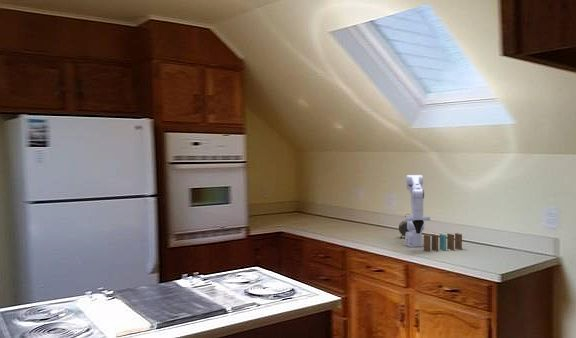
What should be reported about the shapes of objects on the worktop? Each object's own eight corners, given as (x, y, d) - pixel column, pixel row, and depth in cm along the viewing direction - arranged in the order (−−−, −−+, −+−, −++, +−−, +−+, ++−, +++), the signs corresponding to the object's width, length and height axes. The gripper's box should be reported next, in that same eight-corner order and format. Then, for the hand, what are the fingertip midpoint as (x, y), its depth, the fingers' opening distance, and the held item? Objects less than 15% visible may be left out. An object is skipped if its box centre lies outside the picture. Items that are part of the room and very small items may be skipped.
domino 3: (451, 250, 293) (451, 235, 293) (447, 248, 298) (447, 233, 297) (454, 250, 293) (454, 234, 293) (449, 248, 298) (449, 233, 298)
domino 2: (435, 251, 291) (435, 235, 291) (431, 249, 296) (431, 234, 295) (438, 251, 291) (438, 235, 291) (434, 249, 296) (434, 234, 296)
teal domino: (443, 250, 292) (443, 235, 292) (439, 249, 297) (439, 233, 296) (446, 250, 292) (446, 235, 292) (442, 248, 297) (442, 233, 297)
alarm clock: (414, 237, 335) (414, 213, 334) (416, 239, 329) (417, 214, 328) (398, 237, 335) (398, 213, 334) (400, 239, 329) (400, 214, 328)
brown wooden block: (427, 251, 290) (427, 236, 290) (423, 249, 295) (423, 234, 294) (430, 251, 290) (430, 236, 290) (426, 249, 295) (426, 234, 295)
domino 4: (459, 249, 294) (459, 234, 294) (454, 248, 299) (455, 233, 298) (461, 249, 294) (461, 234, 294) (457, 248, 299) (457, 233, 299)
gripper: (409, 211, 285) (409, 235, 285) (433, 210, 288) (432, 233, 289) (404, 209, 292) (404, 232, 292) (427, 208, 295) (426, 231, 295)
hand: (418, 233), depth 291 cm, fingers closed
